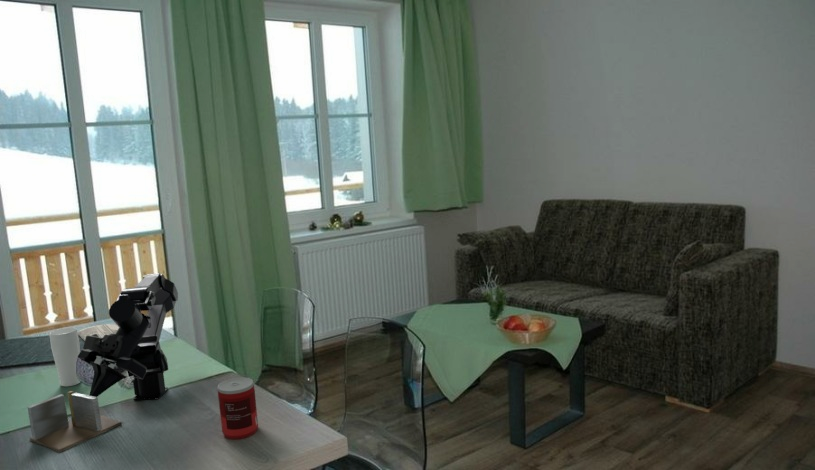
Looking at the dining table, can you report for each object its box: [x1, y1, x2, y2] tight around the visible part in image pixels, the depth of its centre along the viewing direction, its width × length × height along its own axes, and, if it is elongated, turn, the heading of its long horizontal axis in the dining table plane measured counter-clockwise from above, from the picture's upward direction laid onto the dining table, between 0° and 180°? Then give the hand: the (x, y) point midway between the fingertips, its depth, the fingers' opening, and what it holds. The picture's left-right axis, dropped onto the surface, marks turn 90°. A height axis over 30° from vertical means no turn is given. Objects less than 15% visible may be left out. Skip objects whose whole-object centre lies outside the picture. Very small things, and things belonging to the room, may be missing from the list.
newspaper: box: [77, 323, 119, 342], centre depth 212 cm, size 35×12×4 cm, turn 38°
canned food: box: [217, 376, 259, 440], centre depth 140 cm, size 8×8×11 cm
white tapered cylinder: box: [49, 326, 81, 388], centre depth 175 cm, size 7×7×15 cm
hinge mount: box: [27, 390, 122, 453], centre depth 145 cm, size 14×12×9 cm
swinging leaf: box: [71, 392, 102, 431], centre depth 145 cm, size 8×1×8 cm, turn 62°
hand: (91, 397), depth 146 cm, fingers closed
